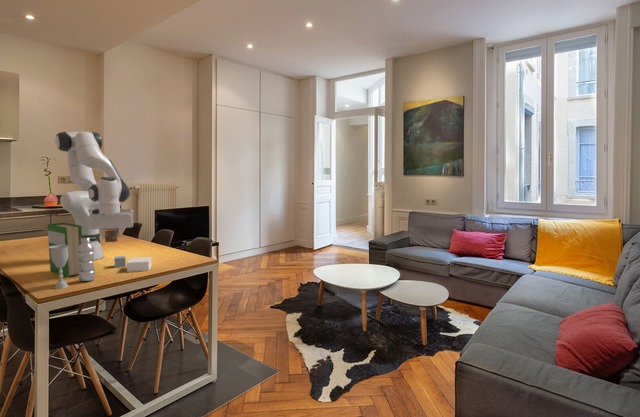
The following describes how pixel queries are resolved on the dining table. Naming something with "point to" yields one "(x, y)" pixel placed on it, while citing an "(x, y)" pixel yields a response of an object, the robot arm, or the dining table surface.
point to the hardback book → (65, 236)
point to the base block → (139, 264)
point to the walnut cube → (111, 236)
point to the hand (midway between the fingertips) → (111, 237)
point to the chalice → (60, 262)
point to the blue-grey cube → (120, 261)
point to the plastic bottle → (86, 260)
